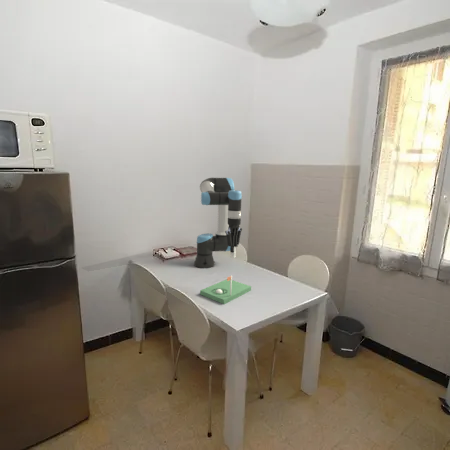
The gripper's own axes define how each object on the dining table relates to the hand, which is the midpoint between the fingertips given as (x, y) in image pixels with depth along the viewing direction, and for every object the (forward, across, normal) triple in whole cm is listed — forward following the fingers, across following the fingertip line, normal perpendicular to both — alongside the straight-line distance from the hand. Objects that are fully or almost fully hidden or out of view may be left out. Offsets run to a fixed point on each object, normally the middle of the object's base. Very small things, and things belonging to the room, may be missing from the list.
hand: (233, 257), depth 173 cm
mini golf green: (+20, -6, 0) cm, 21 cm away
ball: (+18, -12, 0) cm, 22 cm away
